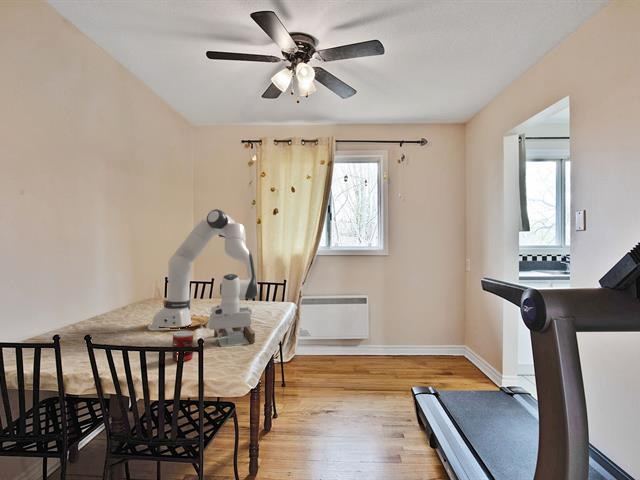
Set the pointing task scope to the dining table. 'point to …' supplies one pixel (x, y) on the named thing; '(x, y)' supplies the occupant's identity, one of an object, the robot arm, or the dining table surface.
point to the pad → (224, 343)
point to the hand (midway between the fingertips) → (229, 336)
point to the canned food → (183, 343)
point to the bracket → (233, 336)
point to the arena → (246, 331)
